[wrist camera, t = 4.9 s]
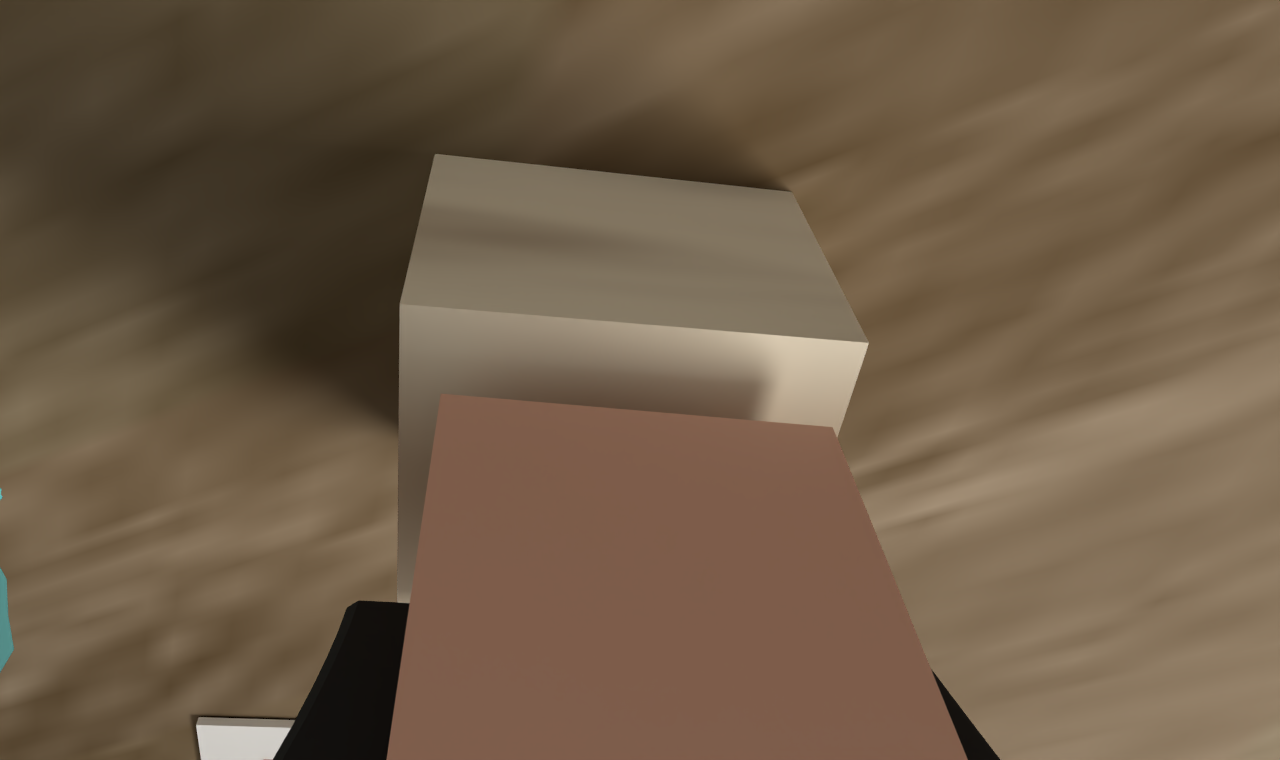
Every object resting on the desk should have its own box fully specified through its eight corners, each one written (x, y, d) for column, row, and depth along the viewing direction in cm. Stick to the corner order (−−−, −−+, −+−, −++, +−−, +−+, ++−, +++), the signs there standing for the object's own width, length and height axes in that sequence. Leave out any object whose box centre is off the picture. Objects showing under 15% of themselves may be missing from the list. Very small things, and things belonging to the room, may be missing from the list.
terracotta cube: (746, 677, 14) (820, 1031, 10) (423, 664, 13) (376, 1039, 9) (831, 427, 11) (974, 776, 8) (440, 393, 11) (386, 760, 7)
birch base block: (722, 456, 18) (767, 646, 15) (427, 437, 17) (397, 634, 14) (790, 188, 15) (869, 343, 12) (435, 150, 14) (400, 303, 11)
